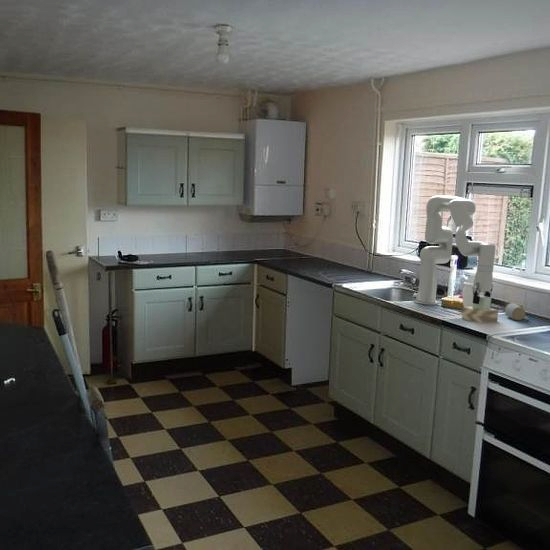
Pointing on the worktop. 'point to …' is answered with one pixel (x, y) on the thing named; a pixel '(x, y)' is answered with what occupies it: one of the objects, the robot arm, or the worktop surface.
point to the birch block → (480, 315)
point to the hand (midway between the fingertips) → (481, 302)
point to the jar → (468, 294)
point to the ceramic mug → (515, 312)
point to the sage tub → (483, 303)
